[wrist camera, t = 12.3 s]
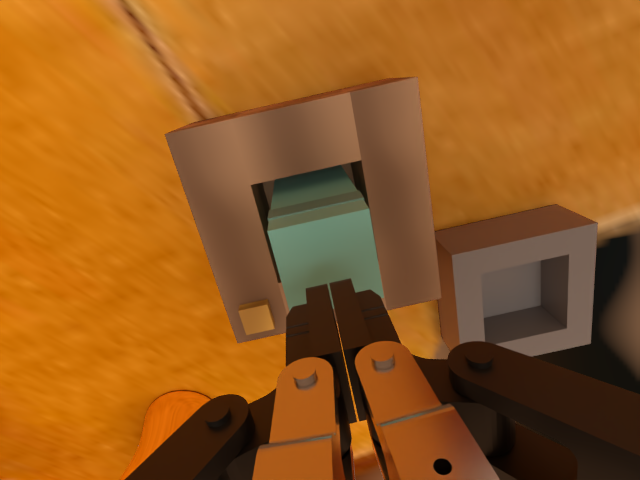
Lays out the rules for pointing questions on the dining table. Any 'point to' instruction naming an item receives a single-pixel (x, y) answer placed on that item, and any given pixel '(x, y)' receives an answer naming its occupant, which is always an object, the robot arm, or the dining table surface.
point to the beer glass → (164, 423)
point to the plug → (322, 234)
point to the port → (300, 157)
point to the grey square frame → (518, 281)
